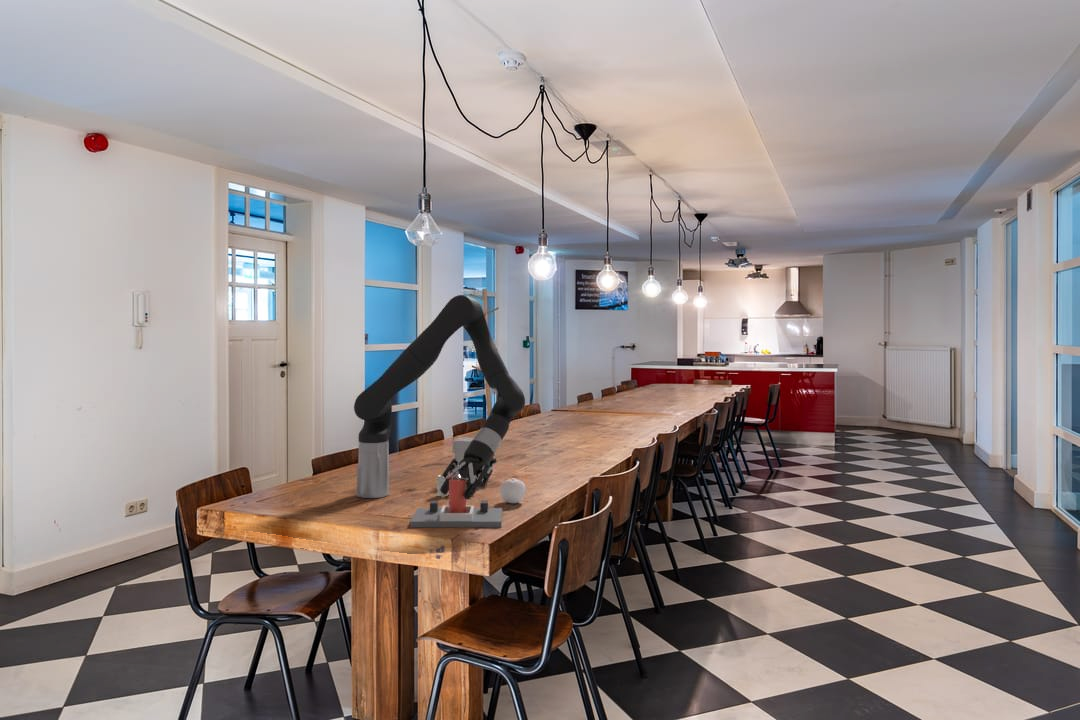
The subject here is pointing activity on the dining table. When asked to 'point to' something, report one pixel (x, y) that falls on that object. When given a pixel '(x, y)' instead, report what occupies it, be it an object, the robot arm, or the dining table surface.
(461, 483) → the cap
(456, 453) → the circuit breaker
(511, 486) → the white folded ball
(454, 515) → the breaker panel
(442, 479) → the valve
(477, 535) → the dining table surface
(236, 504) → the dining table surface
